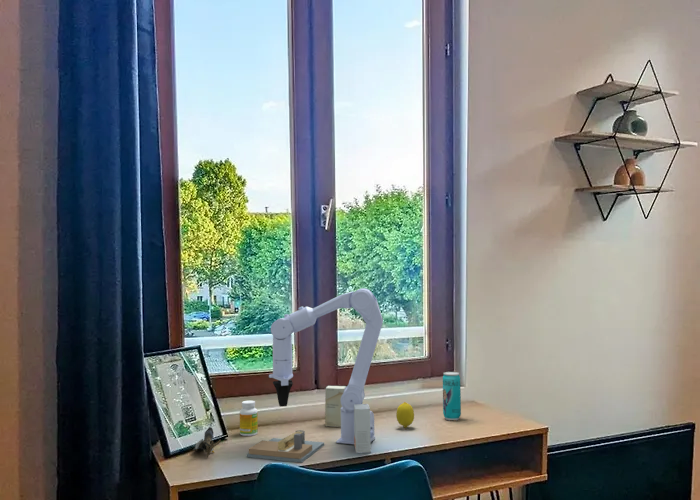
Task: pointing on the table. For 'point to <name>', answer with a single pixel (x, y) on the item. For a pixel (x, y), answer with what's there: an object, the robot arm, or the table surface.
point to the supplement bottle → (248, 419)
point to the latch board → (292, 454)
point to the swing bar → (290, 440)
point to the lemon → (405, 414)
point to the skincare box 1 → (333, 405)
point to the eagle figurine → (207, 442)
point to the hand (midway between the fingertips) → (283, 405)
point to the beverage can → (451, 396)
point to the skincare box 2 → (362, 428)
